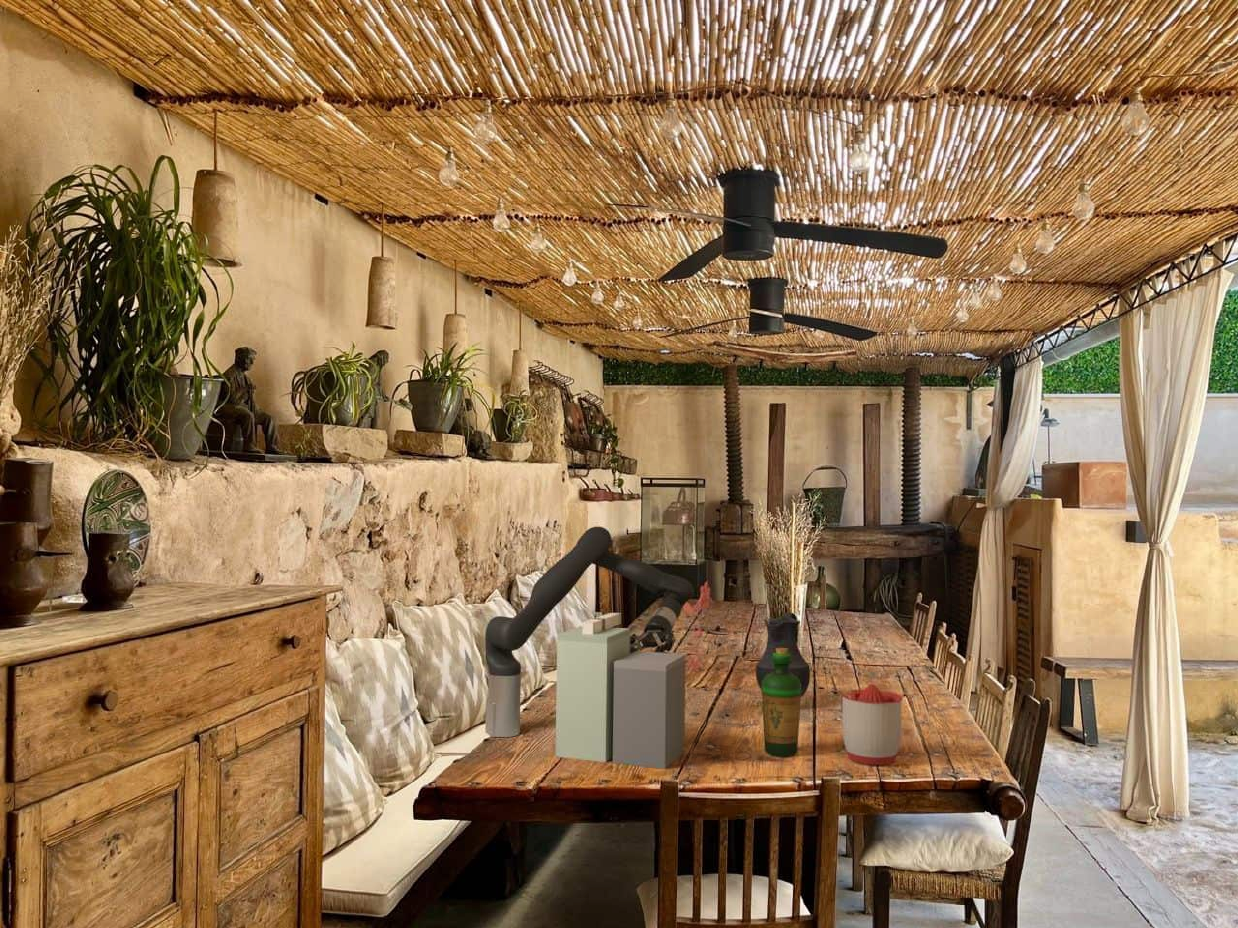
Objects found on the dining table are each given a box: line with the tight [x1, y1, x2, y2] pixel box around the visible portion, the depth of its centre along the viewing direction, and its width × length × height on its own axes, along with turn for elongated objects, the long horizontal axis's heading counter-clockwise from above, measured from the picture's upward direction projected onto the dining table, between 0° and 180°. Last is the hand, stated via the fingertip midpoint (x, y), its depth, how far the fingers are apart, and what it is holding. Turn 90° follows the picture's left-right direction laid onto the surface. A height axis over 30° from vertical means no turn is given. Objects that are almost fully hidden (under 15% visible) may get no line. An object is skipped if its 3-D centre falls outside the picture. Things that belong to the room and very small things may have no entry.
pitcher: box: [755, 611, 811, 698], centre depth 319 cm, size 17×21×30 cm
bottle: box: [761, 648, 802, 758], centre depth 262 cm, size 11×11×28 cm
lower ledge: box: [612, 650, 686, 770], centre depth 257 cm, size 18×14×26 cm
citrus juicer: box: [836, 683, 903, 766], centre depth 257 cm, size 16×17×20 cm
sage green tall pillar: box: [555, 625, 631, 763], centre depth 262 cm, size 18×14×32 cm
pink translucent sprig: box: [682, 581, 725, 677], centre depth 375 cm, size 15×26×35 cm, turn 158°
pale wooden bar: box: [581, 612, 622, 634], centre depth 268 cm, size 22×3×3 cm, turn 160°
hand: (641, 657), depth 281 cm, fingers open, 8 cm apart
